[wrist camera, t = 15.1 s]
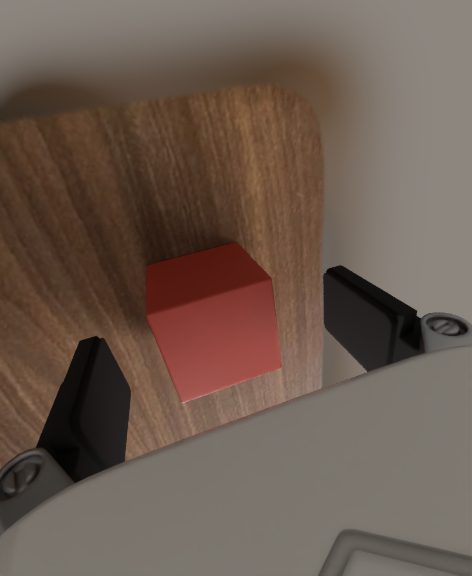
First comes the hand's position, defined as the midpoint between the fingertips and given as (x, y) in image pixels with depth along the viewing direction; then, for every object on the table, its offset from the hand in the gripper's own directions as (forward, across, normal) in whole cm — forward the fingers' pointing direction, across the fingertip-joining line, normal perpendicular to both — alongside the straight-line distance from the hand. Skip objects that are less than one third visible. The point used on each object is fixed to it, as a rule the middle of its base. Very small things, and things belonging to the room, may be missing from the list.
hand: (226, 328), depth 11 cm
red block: (+3, 0, 0) cm, 3 cm away
